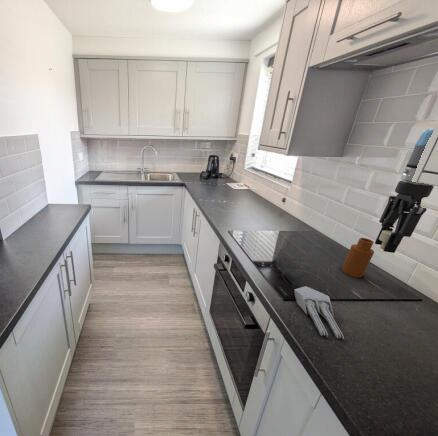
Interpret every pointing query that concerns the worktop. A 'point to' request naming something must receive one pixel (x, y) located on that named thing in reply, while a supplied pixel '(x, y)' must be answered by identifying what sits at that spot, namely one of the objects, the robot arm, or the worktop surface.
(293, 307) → the worktop surface
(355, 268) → the bottle
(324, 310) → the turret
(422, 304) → the worktop surface
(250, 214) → the worktop surface
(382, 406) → the worktop surface
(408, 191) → the robot arm
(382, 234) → the bung
